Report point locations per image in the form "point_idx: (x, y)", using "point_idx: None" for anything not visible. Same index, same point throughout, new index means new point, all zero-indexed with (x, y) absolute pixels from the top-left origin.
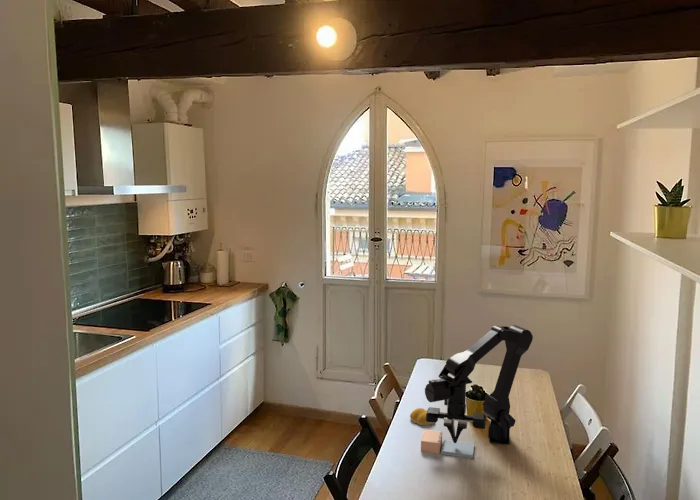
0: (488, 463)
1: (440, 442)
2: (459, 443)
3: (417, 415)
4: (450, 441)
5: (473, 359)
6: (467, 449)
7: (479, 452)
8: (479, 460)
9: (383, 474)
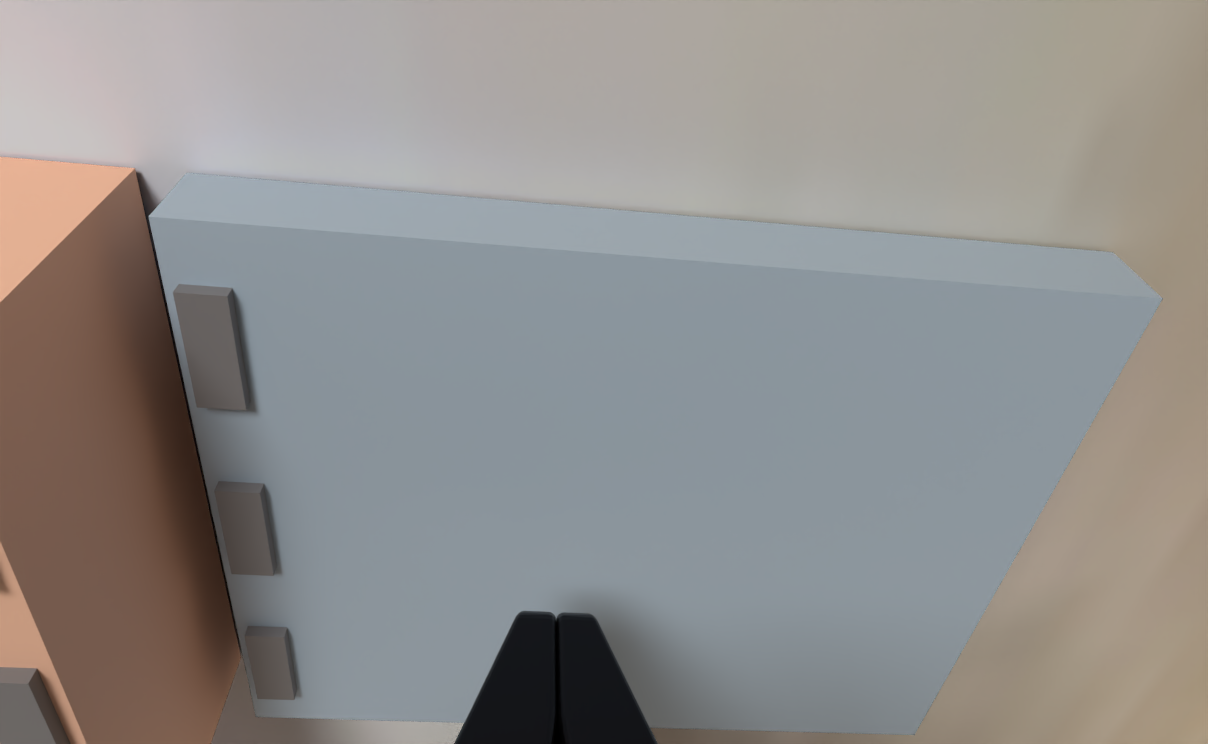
0: (1120, 741)
1: (145, 714)
2: (689, 384)
3: None
4: (408, 324)
5: None
6: (855, 597)
7: (1118, 493)
8: (997, 703)
9: None
